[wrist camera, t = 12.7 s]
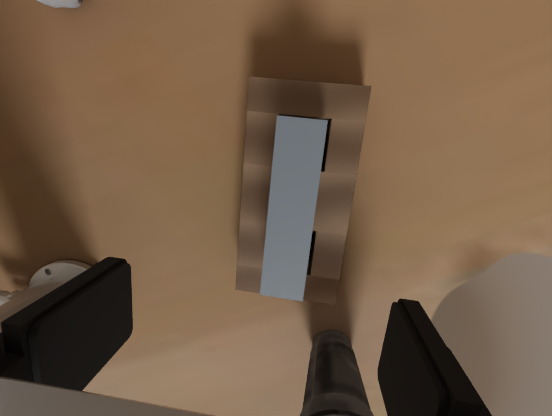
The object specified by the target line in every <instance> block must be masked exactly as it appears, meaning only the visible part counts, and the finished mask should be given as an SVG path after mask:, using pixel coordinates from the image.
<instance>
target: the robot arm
mask: <svg viewBox="0 0 552 416" xmlns="http://www.w3.org/2000/svg"><path fill="white" fill-rule="evenodd" d="M132 329H133V318H132V287H131V266H130V264H128V263H127V261H126V260H125V259H121V258H114V257H107V258H105V259H103V260H102V261H100V262H99V263H97V264H95V265H94V266H90V265H87V264H85V263H82V262H78V261H74V260H60V261H55V262H53V263H50V264H48V265H46V266H44V267H42V268H41V269H39V270H38V271H37V272H36V273H35V274H34V275H33V277H32V278H31V280H30V282H29V285H28V288H26V289H24V290H22V291H17V290H16V291H13V292H11V293H10V292H8V291H3V290H0V416H214V415H209V414H204V413H198V412H193V411H188V410H183V409H177V408H172V407H166V406H161V405H156V404H150V403H145V402H140V401H134V400H129V399H123V398H118V397H112V396H107V395H101V394H96V393H90V392H84V391H82V390H83V389H84V388H85V387H86V386H87V384H88V383H89V382H90V381H91V380H92V379H93V378H94V377H95V376H96V374H97V373H98V372H99V371H100V370H101V369H102V368H103V367H104V365H105V364H106V363H107V362H108V361H109V360H110V359H111V358H112V356H113V355H114V354H115V353H116V352H117V351H118V350H119V349H120V347H121V346H122V345H123V344H124V343H125V342H126V341H127V340H128V338H129V337H130V335H131V333H132ZM378 381H379V385H380V389H381V392H382V396H383V400H384V404H385V408H386V411H387V415H388V416H492V415H491V414H490V412H489V410H488V409H487V407H486V406H485V404H484V402H483V401H482V399H481V398H480V396H479V394H478V393H477V391H476V390H475V388H474V387H473V385H472V383H471V382H470V380H469V379H468V377H467V376H466V374H465V372H464V371H463V369H462V368H461V366H460V364H459V363H458V361H457V360H456V358H455V356H454V355H453V354H452V352H451V350H450V349H449V348H448V347H447V346H446V345H445V343H444V341H443V340H442V338H441V337H440V335H439V333H438V332H437V330H436V329H435V327H434V326H433V324H432V322H431V321H430V319H429V317H428V316H427V314H426V313H425V311H424V309H423V308H422V306H421V305H420V303H419V302H418V301H414V300H407V299H399V300H398V302H393V303H392V306H391V310H390V315H389V320H388V324H387V329H386V333H385V338H384V343H383V347H382V352H381V356H380V361H379V366H378Z"/></svg>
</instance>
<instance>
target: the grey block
mask: <svg viewBox="0 0 552 416" xmlns="http://www.w3.org/2000/svg"><path fill="white" fill-rule="evenodd" d="M327 123H328V120H318V119H308V118H298V117H288V116H278V115H277V121H276V131H275V142H274V152H273V162H272V173H271V183H270V194H269V204H268V215H267V225H266V236H265V246H264V256H263V267H262V277H261V288H260V295H266V296H272V297H278V298H285V299H291V300H297V301H303V296H304V288H305V281H306V274H307V267H308V260H309V252H310V245H311V238H312V231H313V224H314V217H315V209H316V202H317V195H318V188H319V181H320V173H321V166H322V159H323V152H324V145H325V137H326V130H327Z"/></svg>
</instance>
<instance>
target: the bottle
mask: <svg viewBox="0 0 552 416" xmlns="http://www.w3.org/2000/svg"><path fill="white" fill-rule="evenodd" d="M37 1H39V2H41V3H43V4H46V5H49V6H51V7H57V8H58V7H68V8H77V7H79V6H80V5H81V4H82V1H81V0H37Z"/></svg>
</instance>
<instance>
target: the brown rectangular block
mask: <svg viewBox="0 0 552 416" xmlns="http://www.w3.org/2000/svg"><path fill="white" fill-rule="evenodd" d="M370 91H371V86H363V85H351V84H338V83H326V82H313V81H301V80H289V79H276V78H264V77H251V76H249V85H248V101H247V116H246V132H245V148H244V163H243V179H242V194H241V210H240V225H239V241H238V256H237V272H236V287H235V290H242V291H248V292H254V293H260V288H261V277H262V267H263V256H264V246H265V236H266V225H267V215H268V204H269V194H270V183H271V173H272V162H273V152H274V142H275V131H276V121H277V115H278V116H292V117H302V118H313V119H324V120H330V123H329V130H328V138H327V145H326V152H325V160H324V167H322V166H321V173H320V181H319V188H318V195H317V202H316V209H315V217H314V224H313V231H315V234H314V242H313V249H312V256H311V258H309V260H308V267H307V274H306V281H305V288H304V296H303V300H306V301H313V302H319V303H326V304H332V305H335V303H336V297H337V291H338V285H339V279H340V273H341V267H342V261H343V255H344V249H345V243H346V237H347V230H348V224H349V218H350V212H351V206H352V200H353V194H354V188H355V182H356V176H357V170H358V164H359V158H360V152H361V146H362V139H363V133H364V127H365V121H366V115H367V109H368V103H369V97H370Z"/></svg>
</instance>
